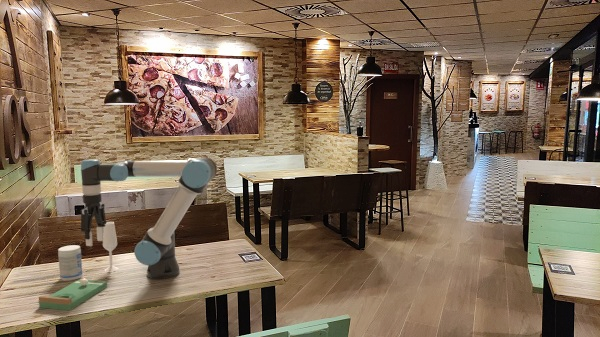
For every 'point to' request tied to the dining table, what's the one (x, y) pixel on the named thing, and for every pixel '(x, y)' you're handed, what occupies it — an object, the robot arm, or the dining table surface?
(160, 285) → the dining table surface
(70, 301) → the green game board
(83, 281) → the ball
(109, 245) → the champagne flute
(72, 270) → the supplement tub
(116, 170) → the robot arm
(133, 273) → the dining table surface
